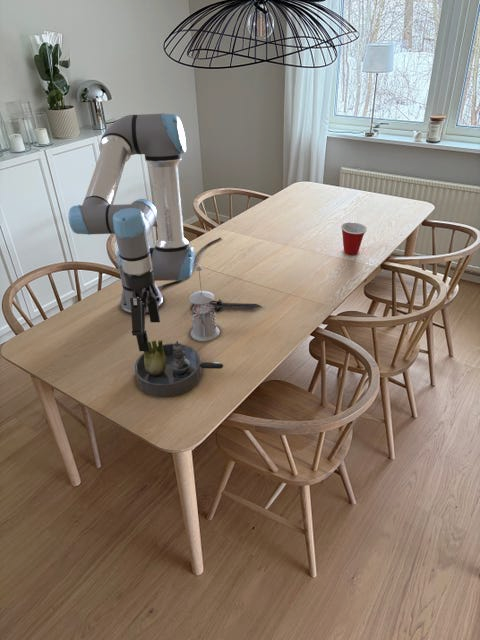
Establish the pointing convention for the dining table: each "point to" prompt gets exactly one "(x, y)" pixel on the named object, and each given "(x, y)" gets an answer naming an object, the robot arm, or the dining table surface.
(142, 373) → the pan
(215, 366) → the pan handle
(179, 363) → the salt shaker
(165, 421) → the dining table surface
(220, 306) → the knife
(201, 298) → the french press
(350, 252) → the plastic cup
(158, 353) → the fennel bulb
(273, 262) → the dining table surface
